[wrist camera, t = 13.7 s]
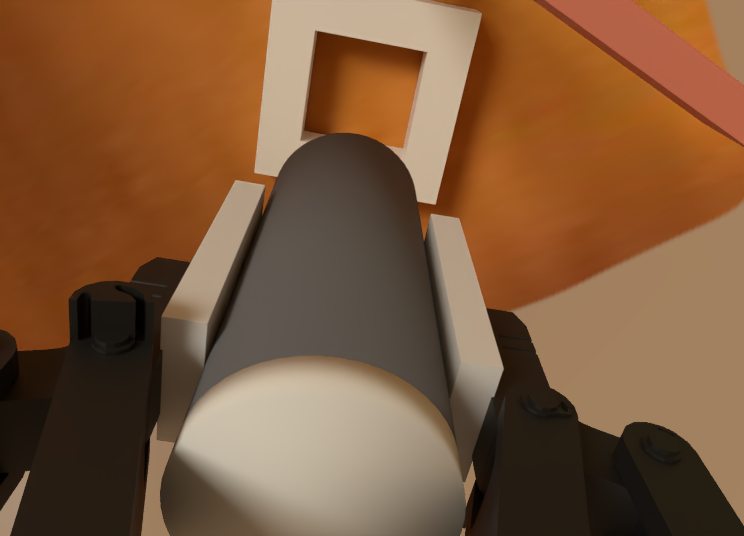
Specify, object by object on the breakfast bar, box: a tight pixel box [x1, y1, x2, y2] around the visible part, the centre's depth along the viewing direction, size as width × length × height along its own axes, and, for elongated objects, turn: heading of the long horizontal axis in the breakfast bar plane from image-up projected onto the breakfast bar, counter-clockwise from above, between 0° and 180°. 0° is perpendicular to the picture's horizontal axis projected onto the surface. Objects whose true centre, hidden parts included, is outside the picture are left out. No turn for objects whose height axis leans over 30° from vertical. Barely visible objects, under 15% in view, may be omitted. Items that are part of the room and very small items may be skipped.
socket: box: [254, 0, 482, 204], centre depth 28 cm, size 10×16×13 cm, turn 170°
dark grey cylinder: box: [160, 133, 466, 536], centre depth 15 cm, size 4×4×12 cm
